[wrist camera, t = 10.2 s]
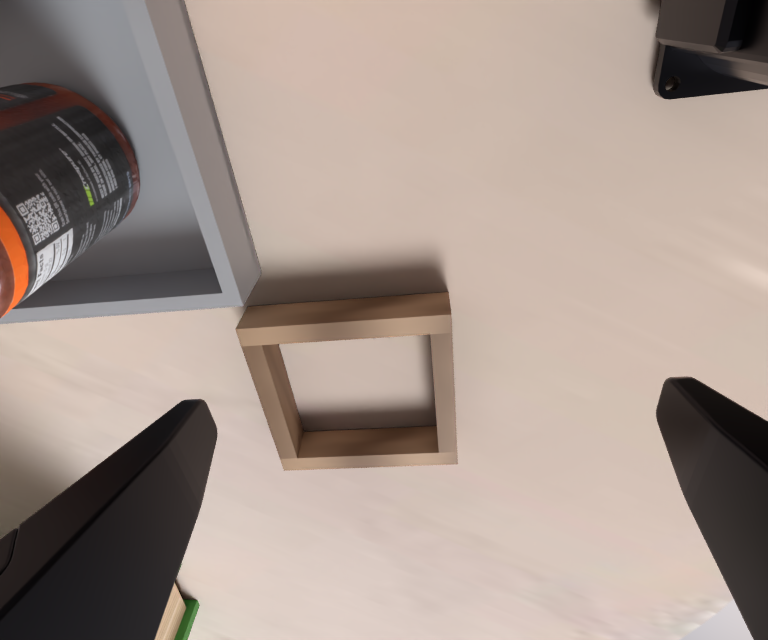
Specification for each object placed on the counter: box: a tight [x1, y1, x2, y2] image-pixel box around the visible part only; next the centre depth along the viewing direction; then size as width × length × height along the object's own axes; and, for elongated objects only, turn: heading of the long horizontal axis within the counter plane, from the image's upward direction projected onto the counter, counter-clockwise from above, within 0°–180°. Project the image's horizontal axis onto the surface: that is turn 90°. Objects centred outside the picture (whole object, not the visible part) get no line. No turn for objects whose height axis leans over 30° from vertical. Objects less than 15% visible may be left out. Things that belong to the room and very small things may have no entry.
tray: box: [0, 0, 262, 324], centre depth 19 cm, size 12×12×3 cm
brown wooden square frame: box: [236, 292, 458, 470], centre depth 25 cm, size 10×10×2 cm
